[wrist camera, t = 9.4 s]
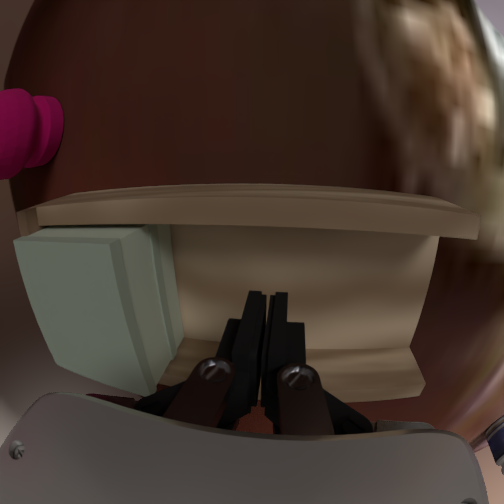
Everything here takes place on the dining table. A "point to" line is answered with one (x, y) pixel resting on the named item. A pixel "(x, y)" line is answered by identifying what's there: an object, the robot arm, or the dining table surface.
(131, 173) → the dining table surface
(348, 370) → the bay
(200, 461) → the robot arm
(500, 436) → the pill bottle
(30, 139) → the pepper mill
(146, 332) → the grey-green block
